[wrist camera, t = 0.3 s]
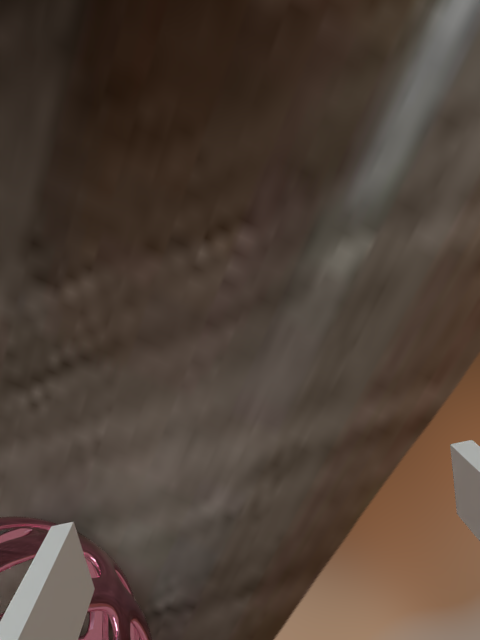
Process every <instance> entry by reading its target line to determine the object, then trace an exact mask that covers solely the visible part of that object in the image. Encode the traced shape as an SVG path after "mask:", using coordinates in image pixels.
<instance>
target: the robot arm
mask: <svg viewBox="0 0 480 640" xmlns="http://www.w3.org/2000/svg"><path fill="white" fill-rule="evenodd" d="M450 447H451V457H452V467H453V477H454V488H455V498H456V508H457V514H458V515H459V517H460V518H461V519H462V520H463V522H464V523H465V524H466V525H467V526H468V528H469V529H470V530H471V531H472V532H473V534H474V535H475V536H476V537H477V538H478V539H479V541H480V446H478V445H477V444H476V443H475V442H474V441H473V440H470V441H465V442H460V443H455V444H451V445H450ZM94 590H95V588H94V585H93V582H92V579H91V576H90V572H89V569H88V566H87V563H86V560H85V556H84V553H83V550H82V547H81V544H80V540H79V537H78V534H77V531H76V528H75V524H74V522H70V523H65V524H60V525H55V526H51V528H50V530H49V532H48V534H47V535H46V537H45V539H44V541H43V543H42V545H41V547H40V548H39V550H38V552H37V554H36V556H35V558H34V560H33V561H32V563H31V565H30V567H29V569H28V571H27V573H26V574H25V576H24V578H23V580H22V582H21V584H20V586H19V587H18V589H17V591H16V593H15V595H14V597H13V599H12V600H11V602H10V604H9V606H8V608H7V610H6V611H5V613H4V615H3V617H2V619H1V621H0V640H78V638H79V635H80V632H81V629H82V626H83V623H84V620H85V617H86V614H87V611H88V608H89V605H90V602H91V599H92V596H93V593H94Z"/></svg>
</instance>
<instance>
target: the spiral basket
mask: <svg viewBox="0 0 480 640" xmlns="http://www.w3.org/2000/svg"><path fill="white" fill-rule="evenodd" d="M55 525H59V524H56V523H53V522H50V521H46V520H42V519H37V518H30V517H0V530H5V529H12V530H9V531H7V532H5V533H2V534H0V572H2V571H4V570H6V569H8V568H10V567H12V566H15V565H17V564H20V563H22V562H25V561H28V560H31V559H34V558H35V556H36V554H37V552H38V550H39V548H40V547H41V545H42V543H43V541H44V539H45V537H46V535H47V534H48V532H49V530H50V528H51V526H55ZM77 534H78V537H79V540H80V544H81V547H82V550H83V553H84V556H85V560H86V563H87V566H88V569H89V572H90V576H91V579H92V582H93V585H94V588H95V590H94V593H93V596H92V599H91V602H90V605H89V608H88V611H87V612H89V625H88V630H87V632H86V634H85V635H83V636H79V638H78V640H109V619H110V621H111V625H112V630H113V640H152V637H151V633H150V629H149V626H148V623H147V620H146V618H145V616H144V613H143V611H142V610H141V608H140V606H139V605H138V603H137V602H136V600H135V599H134V595H133V592H132V590H131V587H130V585H129V583H128V581H127V579H126V577H125V575H124V573H123V572H122V570H121V569H120V567H119V566H118V565H117V563H116V562H115V561H114V560H113V559H112V558H111V557H110V556H109V555H108V554H107V553H106V552H105V551H104V550H103V549H101V548H100V547H99V546H98V545H96V544H95V543H94V542H92V541H91V540H90V539H88V538H87V537H85V536H83V535H82V534H80V533H78V532H77ZM4 613H5V612H4ZM4 613H3V614H2V615H0V621H1V619H2V617H3V615H4Z"/></svg>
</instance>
